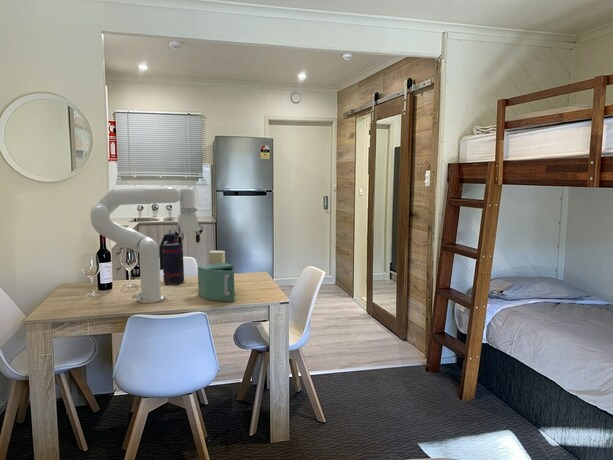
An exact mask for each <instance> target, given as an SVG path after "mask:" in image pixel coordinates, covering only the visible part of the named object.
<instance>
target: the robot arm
mask: <svg viewBox="0 0 613 460" xmlns="http://www.w3.org/2000/svg"><path fill="white" fill-rule="evenodd" d="M178 202H179V208H180V209H179V213H178V217H177V225H176V226H174V227H172V229H171V231H172V232H173V233H174V234H175V235H176V236H177V237H178V238H177V241H178V243H179V244H180V245H181V244H183V238H182V237H183V236H182V235H183V234H189V233H190V234H191V233H195V243H197V244H199V243H200V241H201V235H202V234H203V232H204V229H205V226H204V225H201V224H200V223H199V220H198V215H197V213H196V212H198V208H196V203H195V202H196V201H195V189H194V188H193V187H160V188H159V187H145V186H143V187H142V186H139V187H113V188H111V189H110V190H109V191H108V192H107V193H106V194H105V195H104V196H103V197H102V198H100V199H99V200H98V201H97V202H96V203H95V204H94V205H93V206H92V207H91V209H90V214H89V215H90V223H91V226H92V228H93V229H94V231H95V232H96V233H98V234H99V235H101V236H102V237H103V238H106V239H108V240H110V241H112V242H114V243H116V244H117V245H120V246H121V247H123V248H126V249H130V250H132V251H135V252H137V253H138V255H139V256H138V257H139V272H140V273H139V277H140V291H139V293H137V294H131V300H133V299H136V300H138V302H139V303H142V304H150V303H151V304H152V303H157V302H161V301H163V300H165V296H164V295H163V294H162V288H161V272H160V271H161V270H160V258H159V244H158V243H157V242H156V241H155V240H154V239H153V238H151V237H149V236H147V235H145V234H143V233H141V232H139V231H137V230H136V229H133V228H130V227H124V226H123V225H120V224H119V223H117V222H115V221H113V220H112V219H111V217H110V215H112V213H114V211H115V210H117V209H118V208H119V207H120V206H127V205H151V204H152V205H153V204H174V203H178ZM199 228H200V229H199Z"/></svg>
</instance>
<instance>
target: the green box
mask: <svg viewBox="0 0 613 460" xmlns="http://www.w3.org/2000/svg"><path fill="white" fill-rule="evenodd" d="M205 271H206V297H207V299H206V300H207V301H220V302H231V303H235V302H236V296H235V294H236V293H235V291H236V290H235V271H234V270H233V271H222V270H205Z"/></svg>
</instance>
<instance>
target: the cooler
mask: <svg viewBox="0 0 613 460" xmlns="http://www.w3.org/2000/svg"><path fill="white" fill-rule="evenodd" d="M205 270H222V271H234V265H233V264H231V263H227V262H225V263H218V264H210V265H209V264H203V265H197V284H198V285H197V286H198V296H199V297H201V298H203V299H205V300H207V297H206V271H205Z"/></svg>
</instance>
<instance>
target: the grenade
mask: <svg viewBox="0 0 613 460" xmlns="http://www.w3.org/2000/svg"><path fill="white" fill-rule="evenodd" d="M158 247H159V269H160V271H162V273H163V277H162V278H163V283H164V285H174V286H178V285H180V283H184V281H185V270H184V269H185V268H184V267H185V266H184V265H185V264H184V243H182V244H181V245H180V244H179V243H178V237H177V236H176V235H175V234H174V232H173V233H172V232H169V233H165V234H164V235H163V237H162V240H161V241H160V244H159V245H158Z"/></svg>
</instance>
